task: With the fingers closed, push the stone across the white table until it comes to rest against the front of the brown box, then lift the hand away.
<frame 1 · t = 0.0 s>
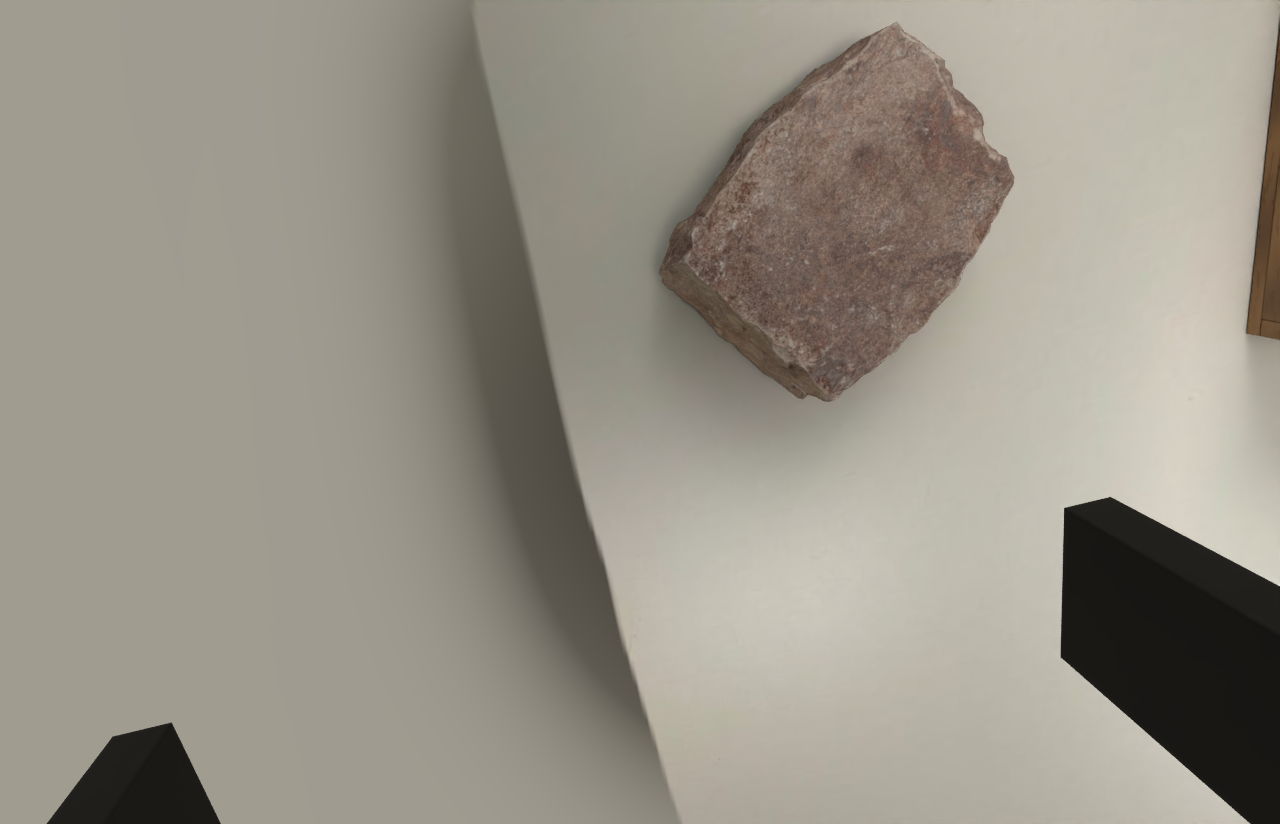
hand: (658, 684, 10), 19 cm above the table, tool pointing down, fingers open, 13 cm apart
stone: (809, 220, 28), on the table
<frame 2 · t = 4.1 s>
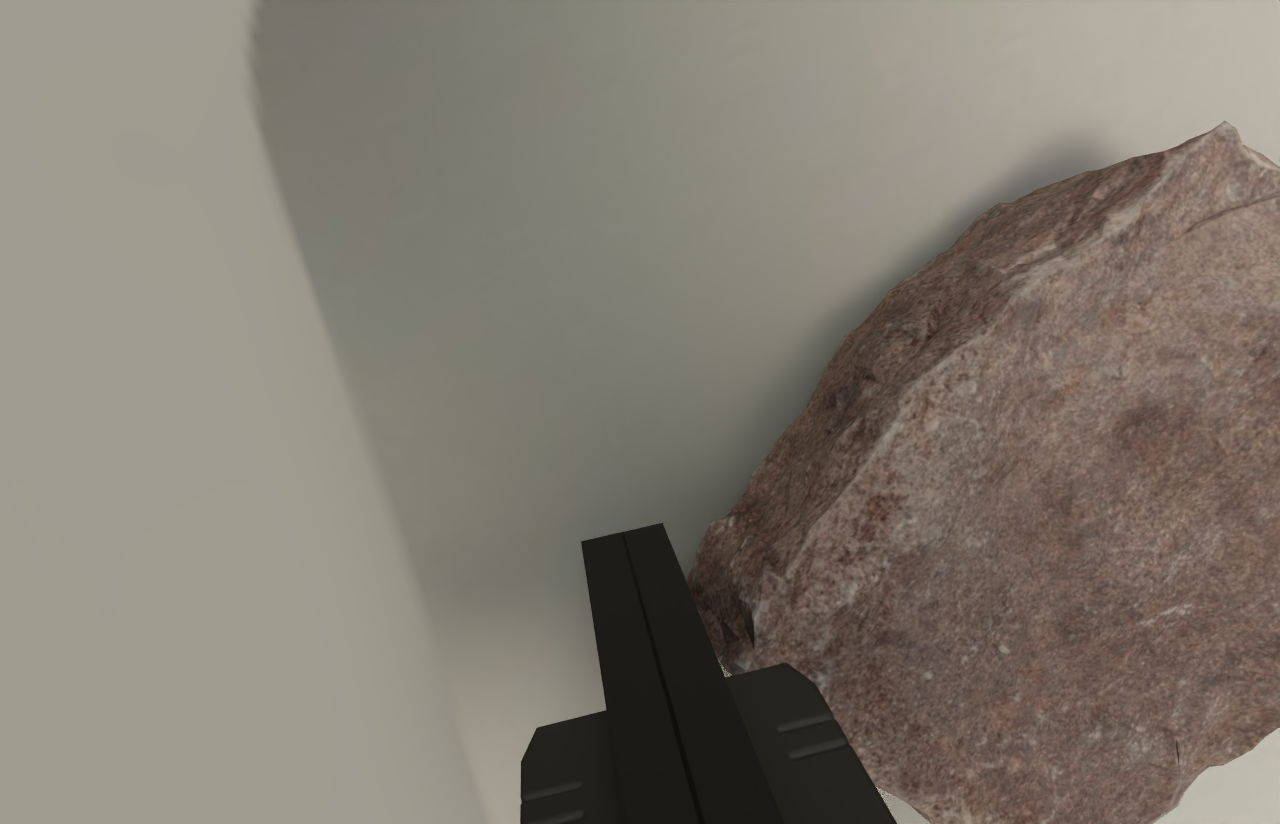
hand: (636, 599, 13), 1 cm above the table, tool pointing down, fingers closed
stone: (959, 470, 15), on the table, touching gripper
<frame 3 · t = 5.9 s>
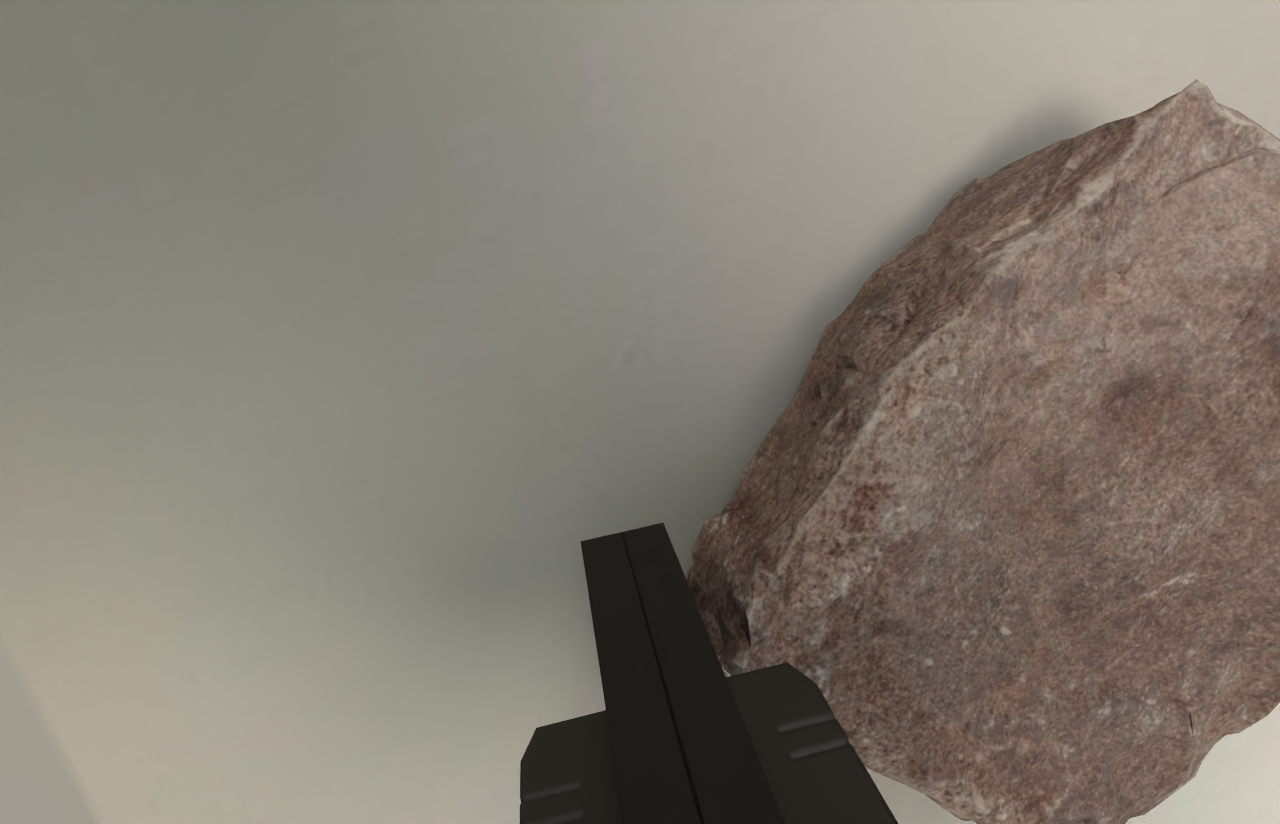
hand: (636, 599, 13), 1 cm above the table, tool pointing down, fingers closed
stone: (956, 450, 15), on the table, touching gripper
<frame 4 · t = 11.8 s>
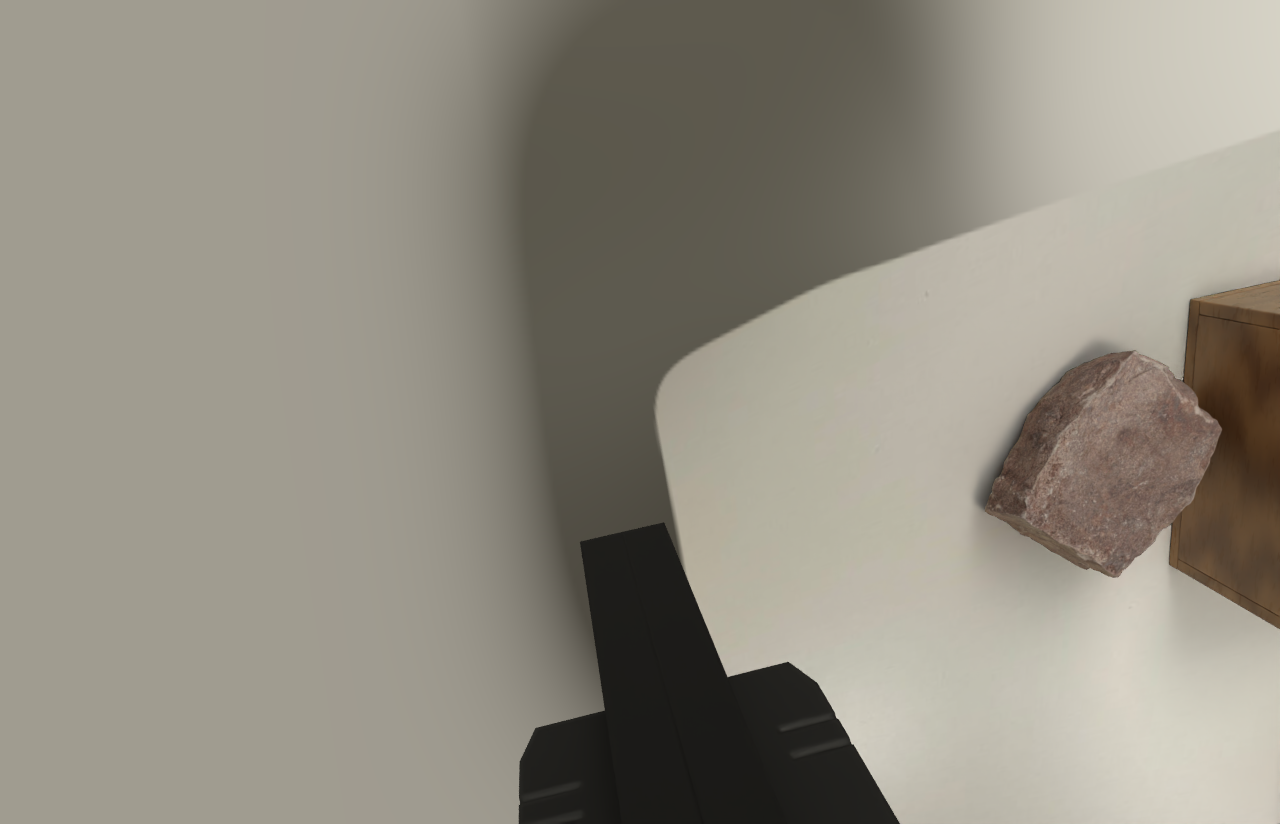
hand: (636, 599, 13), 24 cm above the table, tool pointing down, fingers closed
stone: (1068, 448, 42), on the table
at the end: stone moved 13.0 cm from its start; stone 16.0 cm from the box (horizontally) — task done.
